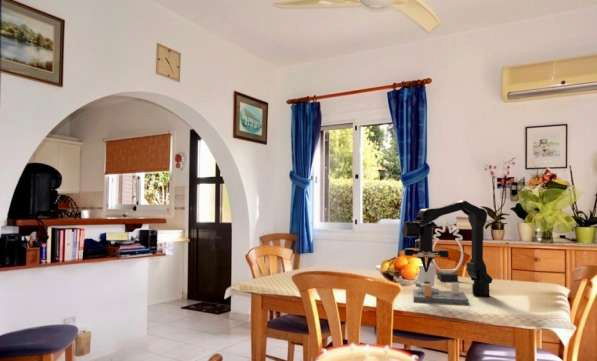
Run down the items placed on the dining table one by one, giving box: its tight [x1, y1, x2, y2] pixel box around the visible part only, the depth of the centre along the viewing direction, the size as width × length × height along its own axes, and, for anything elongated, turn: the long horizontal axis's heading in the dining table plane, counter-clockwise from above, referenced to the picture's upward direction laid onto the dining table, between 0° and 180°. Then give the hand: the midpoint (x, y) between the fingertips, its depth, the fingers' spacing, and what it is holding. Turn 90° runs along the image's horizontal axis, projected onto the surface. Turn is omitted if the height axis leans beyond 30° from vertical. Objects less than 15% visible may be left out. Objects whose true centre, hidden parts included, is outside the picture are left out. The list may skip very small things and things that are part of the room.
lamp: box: [432, 221, 464, 283], centre depth 236 cm, size 17×9×32 cm, turn 85°
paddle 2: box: [450, 281, 460, 294], centre depth 193 cm, size 3×3×5 cm
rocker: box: [415, 281, 440, 292], centre depth 196 cm, size 10×4×1 cm, turn 75°
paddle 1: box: [424, 284, 432, 297], centre depth 188 cm, size 3×3×5 cm
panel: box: [412, 281, 469, 306], centre depth 190 cm, size 22×16×6 cm
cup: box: [417, 263, 437, 290], centre depth 210 cm, size 9×9×12 cm
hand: (426, 272), depth 193 cm, fingers closed
